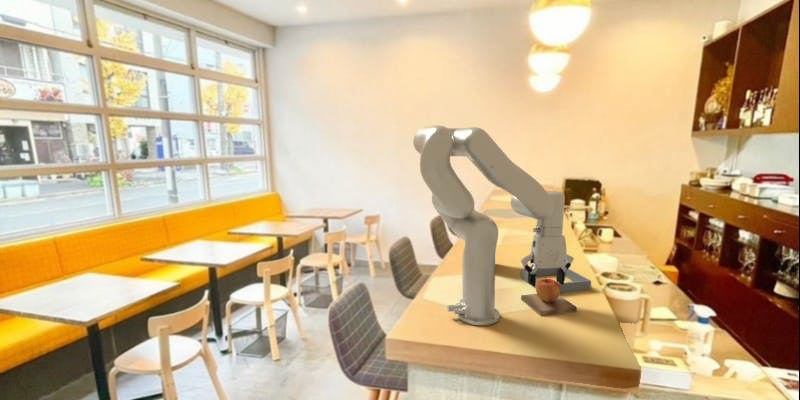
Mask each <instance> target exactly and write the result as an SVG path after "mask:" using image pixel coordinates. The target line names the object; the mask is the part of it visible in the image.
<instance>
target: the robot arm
mask: <svg viewBox="0 0 800 400" xmlns="http://www.w3.org/2000/svg"><path fill="white" fill-rule="evenodd" d="M412 142H413V147H414V149H415V151H416V152H417V153H419V154H420V158H419V159H420V161H419V168H420V170H419V172H420V174H421V177H422V180H423V182H424V184H425V185H426V186H427V187H428V189H429V191H430V192H431V194H432V195H431V202H432V203H431V204H432V205H433V208H434V209H435V210H436V212H437V214H438V215H439V216H440V217H441V219H442V220H443V221H444V223H445V224H446V225H447V226H448V228H449V229H450V230H451V232H452V233H453V234H454V235H455V236H457V237H458V238H459V239H461V240H463V241H464V243H465V244H464V247H463V252H462V259H461V260H462V261H461V263H462V264H461V267H462V299H459V303H458V302H457V303H456V304H449V305H446V310H447V312H448V313H449V312H450V313H451V312H453V314H454V315H457V317H458V319H459V320H460V321H462V322H464V323H466V324H469V325H472V326H490V325H494V324H496V323H498V322H499V321H500V319H501V313H500V310H498V309H497V308H495V307H496V299H495V298H496V295H495V294H496V291H495V290H496V250H497V245H498V240H499V228H498V225H497V223H496V222H495V220H494V219H493V218H491V217H490V216H489V215H486V214H484V213H481V212H478V211H475V210H474V209H475V204H476V203H475V199H474V197H473V194H472V193H471V191H470V190H469V189H468V188H467V187H466V185H465V184H464V183H463V181H462V180H461V178H460V177H459V176H458V175H457V173H456V171H455V170H454V168H453V166H452V164H451V157H464V158H465V157H466V158H467V159H468V160H469V161H470V162H471V163H472V164H473V165H474V167H475V168H476V169H477V170H478V171H479V172H480V173H481V174H482V175H483V176H484V177H485V179H487V181H488V182H490V183H491V184H492V185H494V186H496V187H498V188H500V189H501V190H503V191H504V192H505V191H506V192H507V193H509V194H510V195H512V197H511V198H510V207H511V209H512V210H513V211H514V212H515V213H517V214H519V215H522V216H525V217H529V218H532V219H535V220H536V225H535V227H533V228H532V232H533V233H535V234H534V236H533V238H532V242H531V247H530V248H531V249H530V253H529V254H528V255H526V256H524V257H523V258H521V259H520V262H521V265H522V267H523V269H524V268H525V269H526V270H527V271H528V284H529V285H530V286H531V287H533V288H534V286H535V285H536V278H537V277H536V274H534V273H535V272H536V271H537V269H538V268H539V269H553V268H559V269H557V275H556V276H555V277H556V279H555V281H556V282H558V283H560V284H562V285H564V283H565V280H566V277H565V272H567V269H570V267H571V265H572V263H573V262H574V260H575V259H574V257H573V256H572V255H569V254H567V241H566V236H565V235H563V229H564V215H565V214H564V213H565V202H566V201H565V199H566V198H565V194H564V192H561V191H557V190H546V189H545V188H544V186H543V185H542V184H541V183H540V182H539V181H537V180H536V178H534V177H533V176H532V175H530V174H529V173H528V172H526V171H525V170H524V169H523V168H521V167H520V166H519V165H517V164H516V163H515V162H513V161H512V160H511V159H510V157H508V155H507V154H506V153H505V152H504V151H503V150H502V149H501V147H500V146H499V145H498V144H497V143H496V142H495V141H494V139H493V138H492V137H491V136H490V135H489V133H488V132H487V131H485V130H484V129H482V128H481V127H476V126H475V127H473V126H471V127H461V128H460V127H459V128H458V127H457V128H452V127H451V128H450V127H446V126H444V125H439V124H438V125H436V124H435V125H430V126H424V127H422V128H419V129H418V130H417V131H416V132H415V134H414V136H413V141H412ZM529 263H530V264H529Z"/></svg>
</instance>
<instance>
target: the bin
mask: <svg viewBox="0 0 800 400" xmlns="http://www.w3.org/2000/svg"><path fill="white" fill-rule="evenodd" d="M557 269H559V268H553V269H539V268H538V269H537V271H536V272H535V273H534V274H536V283H537V282H538V281H539V280H540V279H539V278H538V277H546V276H548V277H549V276H555V275H556V276H557ZM565 278H566V279H568V280H571V281H570V282H564V285H562V284H560V283H559V285H560V288H561V290H560V294H567V293H575V292H577V293H578V292H587V291H588V292H589V291H591V289H592V280H590V279H589V278H587V277H585V276H583V275H582V274H580V273H578V272H576V271H574V270H572V269H570V268H568V269H567V272H565ZM520 279H522V280H523V281H525V282H526V283H528V271H527V270H526V269H525V268H524V267H523V268H520ZM528 284H529V283H528ZM533 288H534V289H536V285H535V286H534V287H533ZM560 294H559V295H560Z"/></svg>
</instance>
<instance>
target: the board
mask: <svg viewBox="0 0 800 400" xmlns="http://www.w3.org/2000/svg"><path fill="white" fill-rule="evenodd" d="M520 301H522V302H523V303H525V304H526V306H528V307H529V308H530V309H532V310H533V311H534V312H535V313H537V315H539V316H540V317H542V316H550V315H558V314H559V315H560V314H566V313H568V314H569V313H573V312H575V313H576V312H577V306H576V305H575V304H573V303H571V302H570V301H569V300H567V299H565V298H564V297H563V296H561V295H560V294H559V296H558V298H557V299H556V300H554V301H551V302H549V303H547V302H546V301H544V300H542V299H540V298H539V296H538V295H537V293H531V294H522V295H520Z"/></svg>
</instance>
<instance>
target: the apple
mask: <svg viewBox="0 0 800 400" xmlns="http://www.w3.org/2000/svg"><path fill="white" fill-rule="evenodd" d="M538 280H539V281H538V282H537V283H536V288H535V292H536V294H537V295H538V296H539V298H540V299H542V300H544V301H546V302H547V303H549V302H551V301H554V300H556V299H557V298H558V296H559V295H560V290H561V288H560V285H559V283H558V282H557V281H556V280H554V279H552V278H547V277H546V276H544V279H538Z"/></svg>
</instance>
